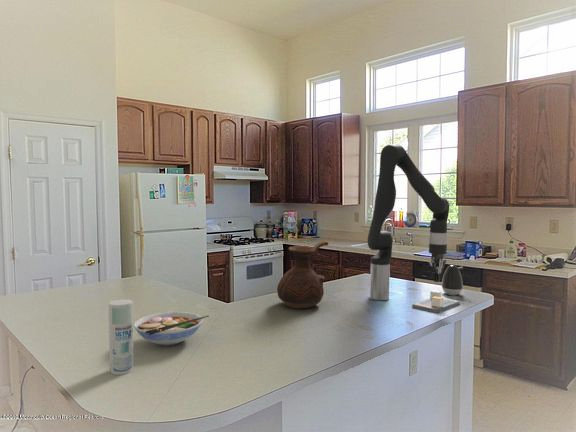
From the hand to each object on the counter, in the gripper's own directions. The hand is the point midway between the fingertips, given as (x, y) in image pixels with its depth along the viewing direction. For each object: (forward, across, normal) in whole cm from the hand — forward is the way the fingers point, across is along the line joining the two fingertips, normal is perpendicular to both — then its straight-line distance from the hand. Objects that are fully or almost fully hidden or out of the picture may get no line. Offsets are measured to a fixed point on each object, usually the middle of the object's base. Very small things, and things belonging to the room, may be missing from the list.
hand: (436, 281), depth 188 cm
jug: (+13, -37, +47) cm, 62 cm away
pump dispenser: (+13, +35, +8) cm, 38 cm away
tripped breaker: (+11, +1, 0) cm, 11 cm away
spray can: (+13, -127, +35) cm, 132 cm away
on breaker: (+11, +13, +6) cm, 18 cm away
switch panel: (+13, +7, +3) cm, 15 cm away
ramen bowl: (+13, -105, +46) cm, 116 cm away
